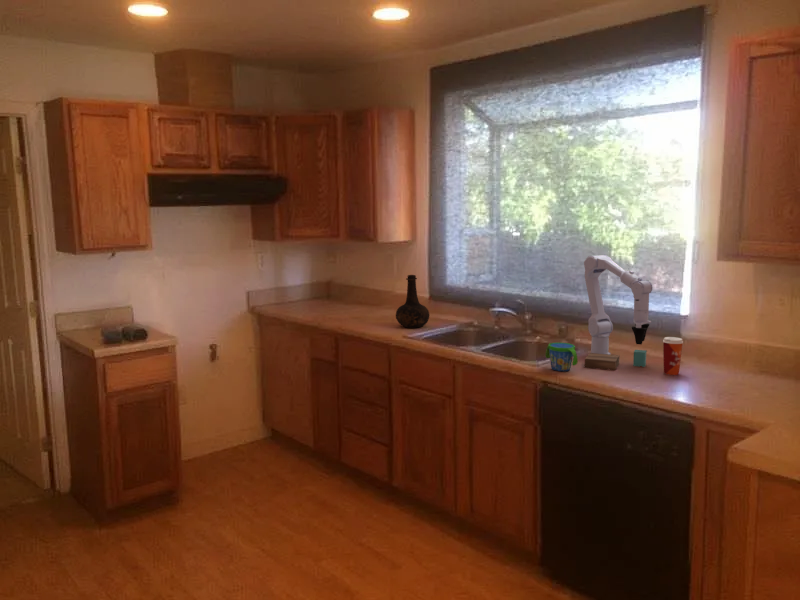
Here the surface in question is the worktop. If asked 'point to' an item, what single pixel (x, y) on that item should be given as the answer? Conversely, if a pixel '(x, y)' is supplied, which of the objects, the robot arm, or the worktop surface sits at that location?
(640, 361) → the teal block
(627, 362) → the worktop surface
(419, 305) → the glass bottle
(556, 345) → the snack cup
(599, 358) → the walnut base
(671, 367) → the paper cup
